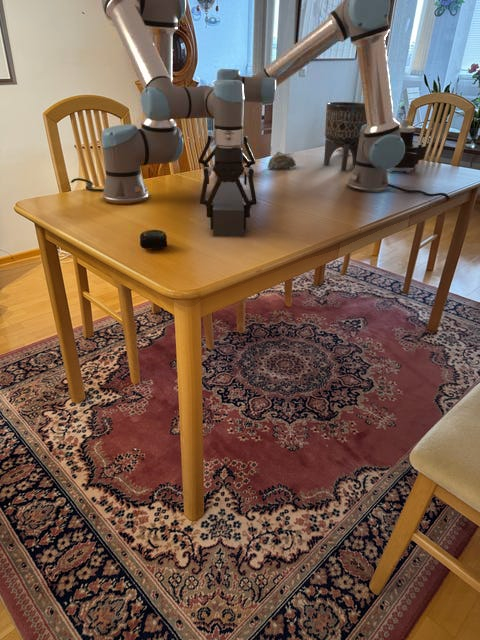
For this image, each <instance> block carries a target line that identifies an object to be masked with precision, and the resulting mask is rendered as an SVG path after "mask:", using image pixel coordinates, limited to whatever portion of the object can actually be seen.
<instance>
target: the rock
mask: <svg viewBox="0 0 480 640" xmlns="http://www.w3.org/2000/svg"><path fill="white" fill-rule="evenodd" d="M296 164H297V163H296V159H294V157H292V156H291V155H288V154H286V153H283V152H281V151H277V152H276V153H275V154H274V155H273V156H272V157H271V158H270V159H269V161H268V164H267V168H268V169H269V170H271V169H272V170H274V171H282V170H290V169H291V168H293V167H296V166H297V165H296Z"/></svg>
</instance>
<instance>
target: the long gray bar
mask: <svg viewBox="0 0 480 640" xmlns="http://www.w3.org/2000/svg"><path fill="white" fill-rule="evenodd" d="M217 178H218V177H217V175H216V174H215V173H214V184H215V183H216V180H217ZM239 178H240V179H241V176H240V177H239ZM212 203H213V204H212V205H213V230H212V236H213V237H244V236H245V230H244V205H245V204H244V200H243V198H242V195H241V193H240V191H239V189H238V187H237V185H236V182H222V183H221V185H220V186H219V188H218V191H217V193H216V195H215V197H214V199H213V201H212Z"/></svg>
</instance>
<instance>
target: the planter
mask: <svg viewBox="0 0 480 640" xmlns="http://www.w3.org/2000/svg"><path fill="white" fill-rule="evenodd" d="M365 124H367V119H366V112H365V104H364V102H353V101H333V102H327V103H326V109H325V124H324V125H325V126H324V139H325V144H324V156H323V157H324V158H323V165H325V166H328V165H330V163H331V158H332V156H333V154H334V153H335V152H336V150H337V149H338V148H340V147H342V153H341V166H340V170H341V172H345V171H347V167H348V166H347V165H348V159H349V155H348V152H349V150H350V151H351V153H350V154H351V157H352V158H351V159H352V160H351V161H352V166H353V167H355V165H356V158H357V151H358V144H359V137H360V135H359V133H360V130H361V127H362V126H363V125H365Z"/></svg>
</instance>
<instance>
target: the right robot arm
mask: <svg viewBox="0 0 480 640" xmlns="http://www.w3.org/2000/svg"><path fill="white" fill-rule="evenodd" d="M390 10H391V0H343V1H342V2H341V3H339V5H338V6H337V7H336V8H335V9H333V10H332V11H331V12H330V13H328V15H327V19H325V21H323V22H322V23H321V24H319V25H318V26H317V27H315V28H314V29H313V30H312V31H310V32H309V33H308V34H306V35H305V36H304V37H303V38H301V39H300V40H299V41H297V42H296V43H295V44H293V45H292V46H291V47H289V48H288V49H287V50H286V51H284V52H283V53H282V54H280V55H279V56H278V57H277V58H276V59H274V60H272V61H271V62H270V63H269V64H267V65H266V66H265V67H263V69H261V70H260V71H259V72H257V73H256V74H254V75H252V76H242V75H241V72H240V70H239V69H235V68H234V69H233V68H220V69H218V70H217V72H216V80H239V81H241V82H242V83H243V86H244V103H262V104H266V103H268V104H269V103H270V104H271V103H274V102H275V100H276V89H277V87H279V86H281V85H282V84H283V83H285V82H286V81H287V80H289V79H290V78H291V77H293V76H294V75H295V74H297V73H298V72H300V70H302V69H303V68H304V67H306V66H308V65H309V64H310V63H311V62H313V61H315V60H316V59H317V58H318V57H319V56H321V55H322V54H324V53H325V52H326V51H328V50H329V49H330V48H331V47H333V46H334V45H336V44H337V43H338V42H341V43H344V42H345V41H346V40H348V39H349V41H350V44H352V45H353V46H355V48H356V55H357V61H358V67H359V74H360V81H361V88H362V98H363V103H364V104H365V112H366V119H367V124H365V125H363V126H362V127H361V130H360V133H359V135H360V137H359V144H358V151H357V158H356V165H355V166H354V167H353V171H351V174H350V176H349V179H348V182H347V187H348V188H349V189H351V190H354V191H358V192H363V193H364V192H365V193H382V192H386V191H388V189H389V188H392V189H395V190H398V191H401V192H405V193H408V194H409V193H410V194H421V195H423V196H425V197H426V196H427V197H439V196H441V197H444V198H445V199H451V198H450V196H449V194H447V193H445V192H436V193H429V192H426V191H424V190H420V189H406V188H403V187H400V186H397V185H394V184H390V183H389V178H388V173H387V172H388V169H390V168H393V167H394V166H396V165H397V164H398V163H399V162H400V161H401V160H402V158H403V156H404V153H405V144H404V141H403V139H402V138H401V137H400V128H399V125H400V122H398V121H397V120H396V119H395V117H394V112H393V111H394V110H393V109H394V108H393V100H392V93H391V92H392V91H391V83H390V74H389V73H390V72H389V65H388V56H387V46H386V37H387V36H388V33H389V32H390V27H389V15H390V12H391V11H390ZM214 141H215V139H214V135H211V134H208V135H207V139H206V144H205V146H204V148H203V150H202V152H201V153H200V156H199V158H198V164H201V165H203V168H204V167H210V163H209V162H210V161H211V160H212V159H213V158H214V157H215V147H214V148H213V150H212V151H210V153H209V154H208V156H207V157H206V158H205V156H206V154H207V153H208V150H209V148H210V146H211V143H213V142H214ZM243 145H244V148H245V150H246V152H247V154H248V157H249V158H247V156H246V155H245V153H243V160H244V162H245V163H246V164H247V165H245V167H247V168H250V167H252V166H253V165H256V163H257V162H256V160H255V157H254V155H253V152H252V150H251V148H250V145H249V143H248V136H247V135H243ZM204 158H205V159H204ZM249 159H250V160H249ZM247 181H248V176H246V173H244V174H243V185H244V186H247V184H248V182H247ZM208 185H210V178H209V179H208Z"/></svg>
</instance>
